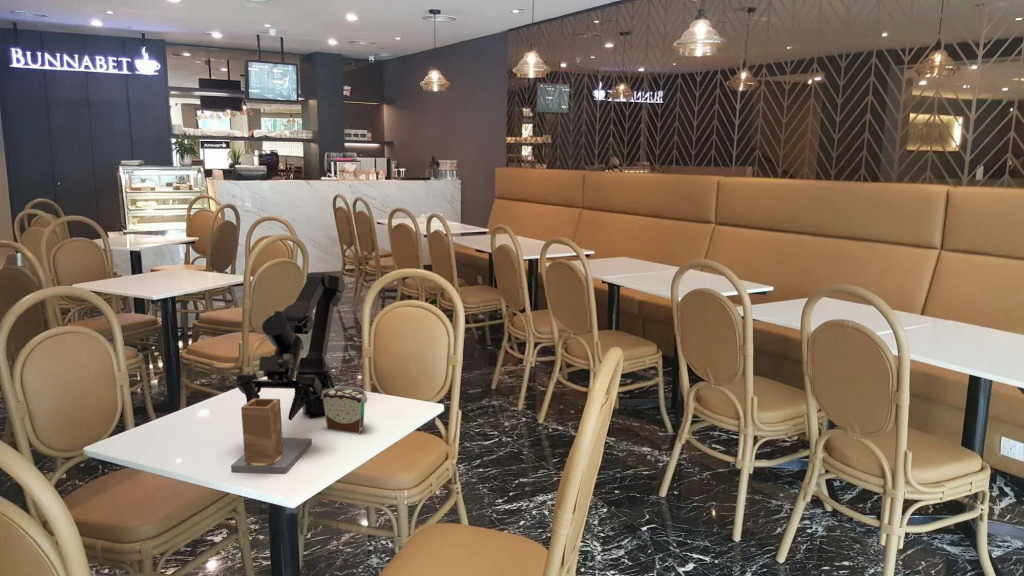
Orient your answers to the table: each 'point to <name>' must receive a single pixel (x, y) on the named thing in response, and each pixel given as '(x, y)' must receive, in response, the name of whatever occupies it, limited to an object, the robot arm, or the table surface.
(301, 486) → the table surface
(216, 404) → the table surface
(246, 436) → the wooden pencil cup
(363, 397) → the food container
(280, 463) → the post stand
